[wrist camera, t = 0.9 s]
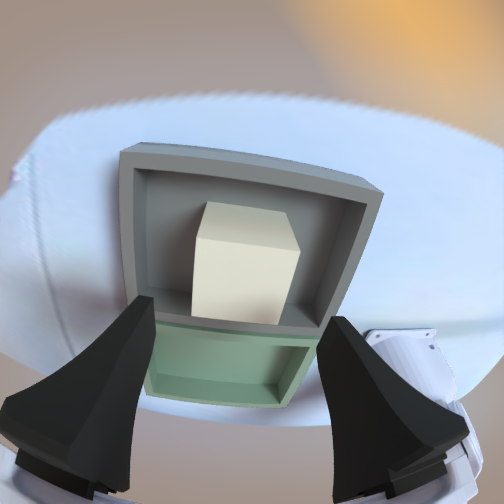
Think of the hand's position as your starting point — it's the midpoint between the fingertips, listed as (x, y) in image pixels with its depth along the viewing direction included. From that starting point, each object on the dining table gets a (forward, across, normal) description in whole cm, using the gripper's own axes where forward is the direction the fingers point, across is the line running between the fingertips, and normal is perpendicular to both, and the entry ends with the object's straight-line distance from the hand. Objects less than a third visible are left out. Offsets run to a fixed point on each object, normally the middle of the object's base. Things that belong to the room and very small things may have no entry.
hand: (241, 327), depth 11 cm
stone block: (+7, 0, 0) cm, 7 cm away
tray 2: (+8, 0, +11) cm, 14 cm away
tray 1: (+8, 0, 0) cm, 8 cm away
